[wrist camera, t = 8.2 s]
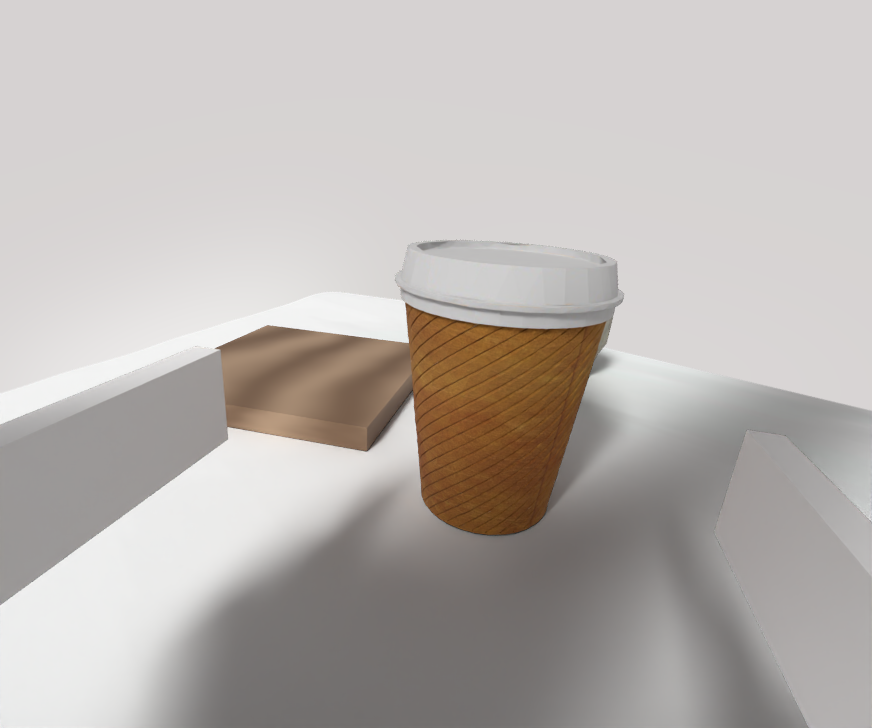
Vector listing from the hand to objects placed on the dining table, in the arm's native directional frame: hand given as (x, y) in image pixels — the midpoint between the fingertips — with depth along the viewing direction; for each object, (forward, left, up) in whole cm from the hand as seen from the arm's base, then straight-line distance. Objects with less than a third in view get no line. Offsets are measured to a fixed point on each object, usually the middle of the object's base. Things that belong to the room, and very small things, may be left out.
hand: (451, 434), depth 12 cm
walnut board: (+15, -20, -8) cm, 26 cm away
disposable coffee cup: (0, -10, -9) cm, 13 cm away
